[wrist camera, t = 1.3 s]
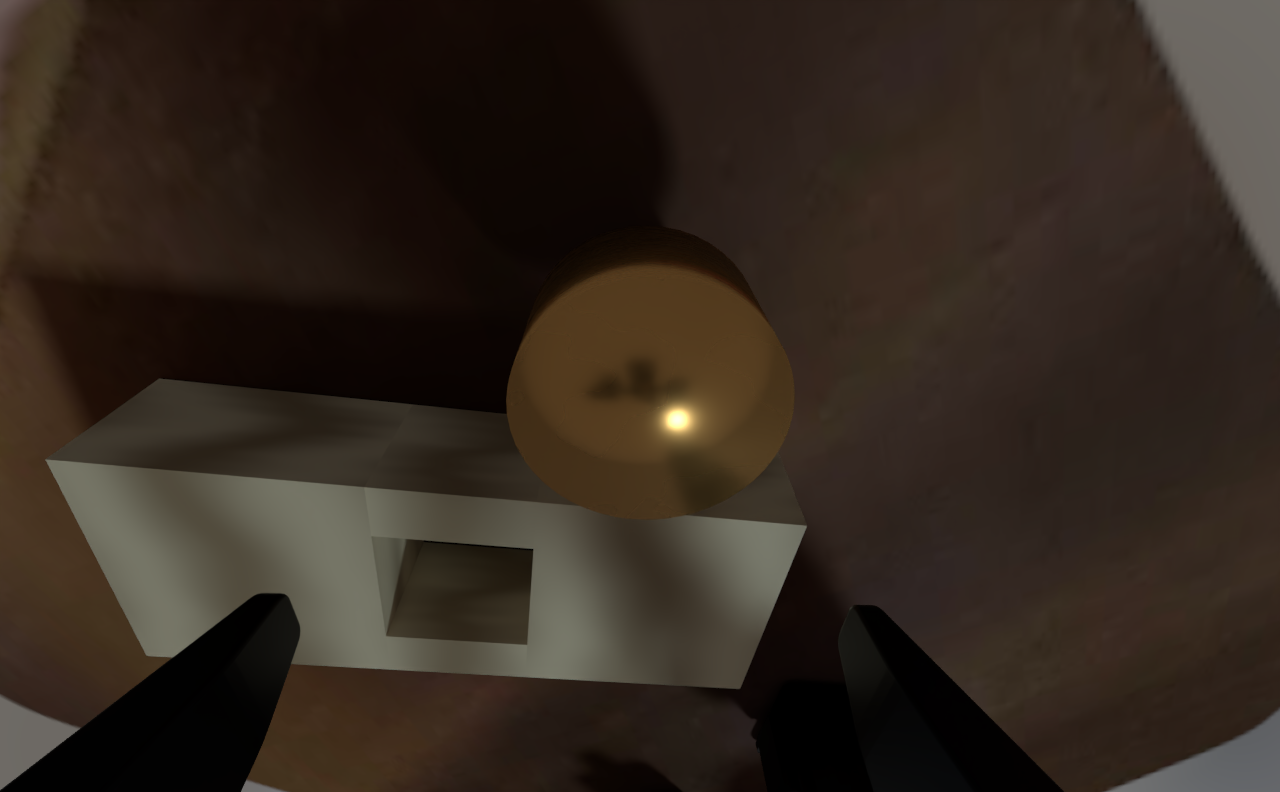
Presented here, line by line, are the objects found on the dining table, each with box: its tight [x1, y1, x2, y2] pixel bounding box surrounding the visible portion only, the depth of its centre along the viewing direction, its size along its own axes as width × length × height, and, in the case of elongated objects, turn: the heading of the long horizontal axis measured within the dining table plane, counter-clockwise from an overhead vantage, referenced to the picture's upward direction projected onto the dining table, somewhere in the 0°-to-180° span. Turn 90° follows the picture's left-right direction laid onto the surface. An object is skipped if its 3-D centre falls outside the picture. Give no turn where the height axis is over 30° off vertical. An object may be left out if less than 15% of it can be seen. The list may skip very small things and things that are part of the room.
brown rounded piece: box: [506, 226, 795, 520], centre depth 15 cm, size 6×6×8 cm
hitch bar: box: [45, 379, 807, 689], centre depth 21 cm, size 22×9×4 cm, turn 82°
